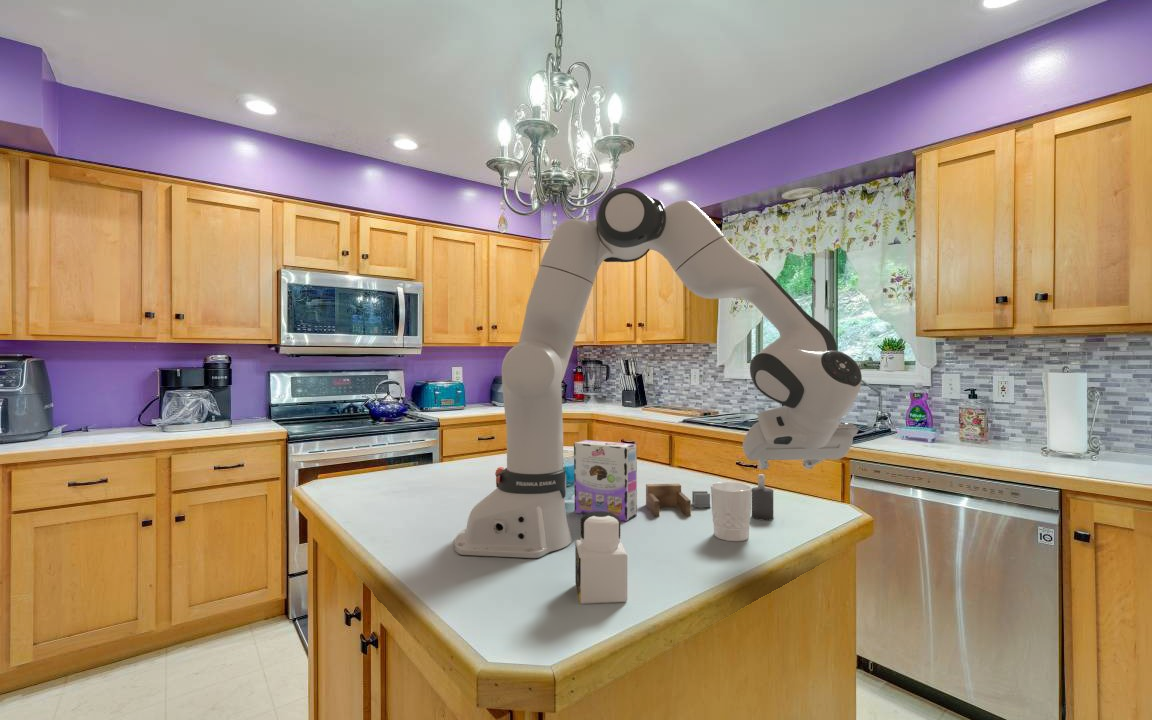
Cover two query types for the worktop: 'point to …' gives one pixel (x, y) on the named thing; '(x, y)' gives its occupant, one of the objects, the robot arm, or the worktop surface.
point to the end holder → (666, 498)
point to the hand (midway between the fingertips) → (784, 466)
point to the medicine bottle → (600, 560)
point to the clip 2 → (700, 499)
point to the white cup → (731, 510)
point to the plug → (762, 500)
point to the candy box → (605, 478)
